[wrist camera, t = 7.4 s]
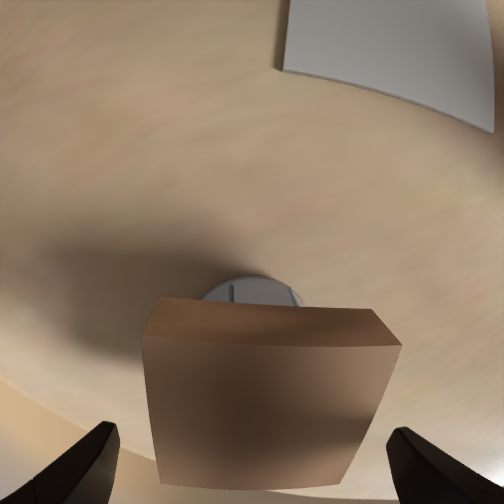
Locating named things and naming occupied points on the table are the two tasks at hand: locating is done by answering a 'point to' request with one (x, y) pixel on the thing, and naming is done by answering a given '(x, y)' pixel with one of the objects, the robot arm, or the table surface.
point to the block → (261, 391)
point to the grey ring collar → (254, 292)
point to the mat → (400, 51)
